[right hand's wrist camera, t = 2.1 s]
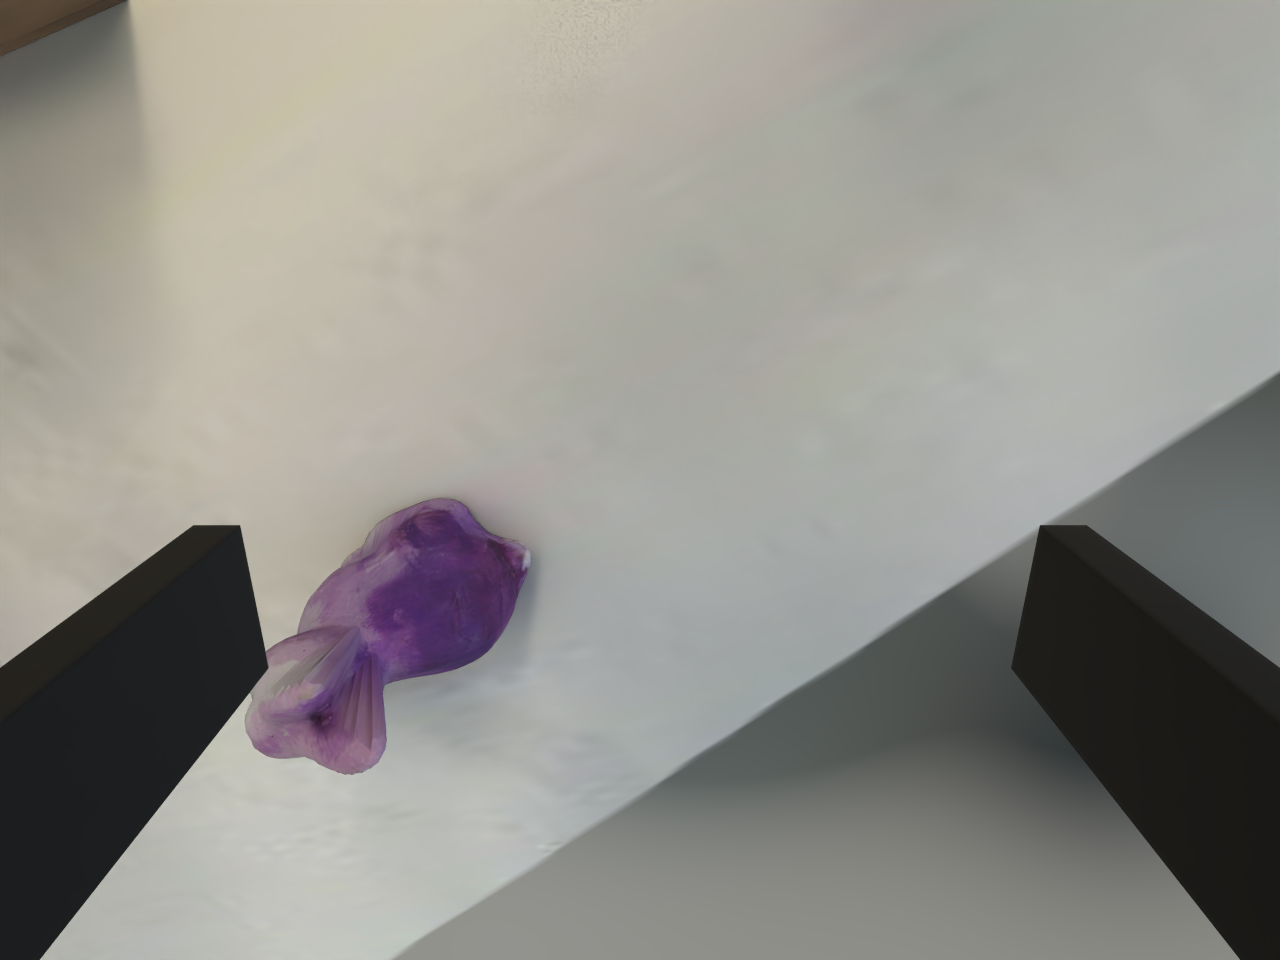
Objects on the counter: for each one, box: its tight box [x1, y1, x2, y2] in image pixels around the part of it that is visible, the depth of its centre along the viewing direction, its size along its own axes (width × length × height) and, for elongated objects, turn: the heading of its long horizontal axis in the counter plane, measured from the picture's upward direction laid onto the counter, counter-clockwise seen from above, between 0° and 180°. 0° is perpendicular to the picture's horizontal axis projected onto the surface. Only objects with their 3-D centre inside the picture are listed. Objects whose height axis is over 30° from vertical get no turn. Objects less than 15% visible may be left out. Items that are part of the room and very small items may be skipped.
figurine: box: [245, 498, 532, 775], centre depth 35 cm, size 9×10×15 cm
